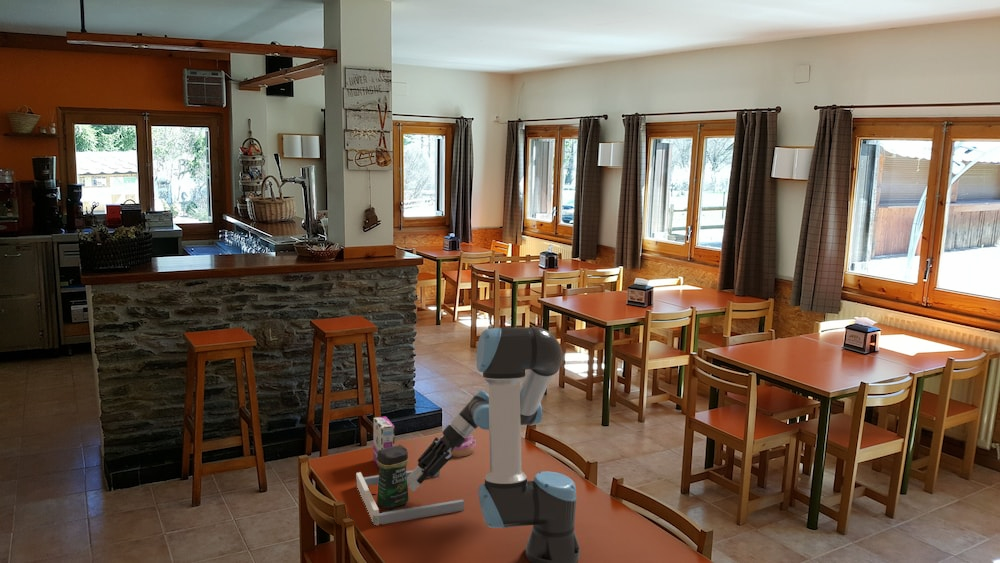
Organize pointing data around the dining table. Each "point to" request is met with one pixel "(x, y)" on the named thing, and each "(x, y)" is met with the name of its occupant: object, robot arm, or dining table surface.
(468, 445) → the donut
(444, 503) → the channel
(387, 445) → the candy bar box
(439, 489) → the dining table surface
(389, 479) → the coffee jar
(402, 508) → the trap pads
